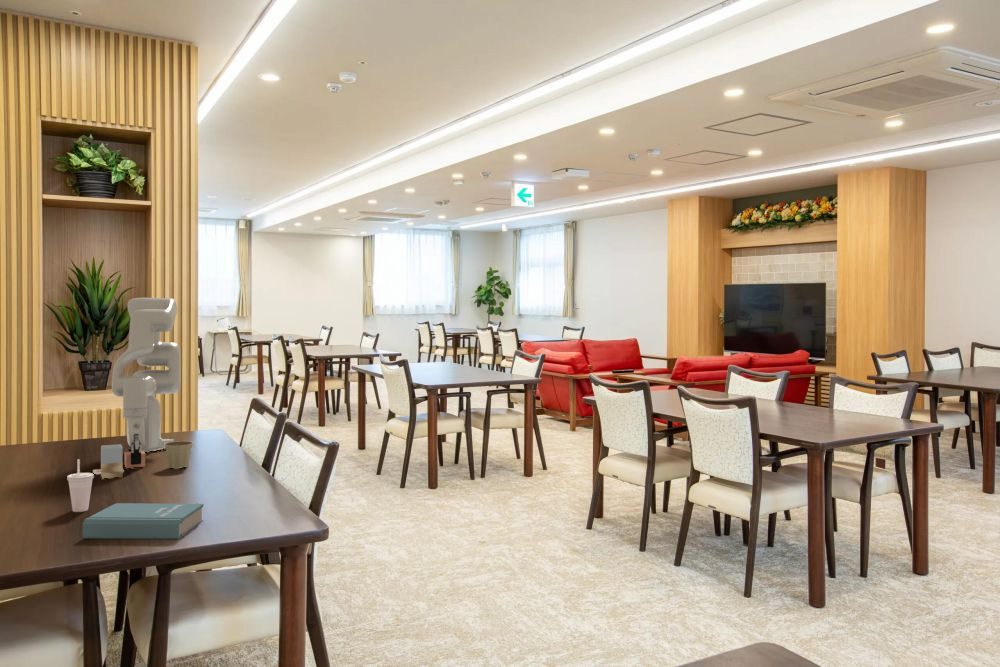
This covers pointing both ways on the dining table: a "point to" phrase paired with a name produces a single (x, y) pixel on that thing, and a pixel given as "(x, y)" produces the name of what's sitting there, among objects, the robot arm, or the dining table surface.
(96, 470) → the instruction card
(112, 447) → the slate blue brick
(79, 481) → the smoothie
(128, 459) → the terracotta brick
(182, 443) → the flower pot
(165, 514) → the book
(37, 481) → the dining table surface
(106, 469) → the maple brick
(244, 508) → the dining table surface
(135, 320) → the robot arm
